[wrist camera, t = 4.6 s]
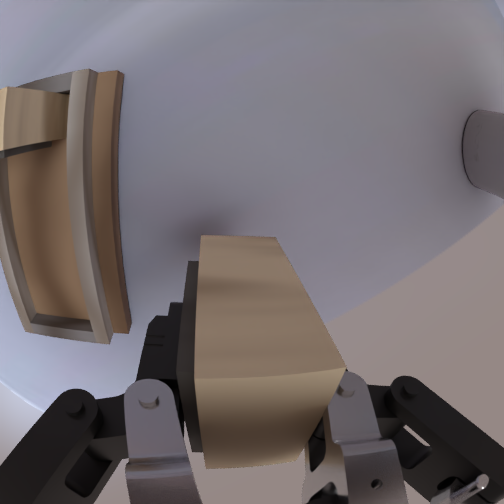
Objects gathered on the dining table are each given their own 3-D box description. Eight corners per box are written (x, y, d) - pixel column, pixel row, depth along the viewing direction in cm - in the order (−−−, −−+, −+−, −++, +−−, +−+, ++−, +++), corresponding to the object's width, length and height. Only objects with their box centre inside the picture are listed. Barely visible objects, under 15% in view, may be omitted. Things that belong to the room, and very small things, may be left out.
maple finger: (261, 334, 13) (295, 460, 7) (193, 334, 13) (193, 468, 7) (275, 237, 11) (346, 367, 5) (191, 235, 11) (172, 377, 4)
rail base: (124, 74, 14) (69, 41, 6) (131, 322, 22) (112, 399, 14) (0, 101, 12) (-69, 106, 4) (27, 311, 20) (-9, 369, 12)
